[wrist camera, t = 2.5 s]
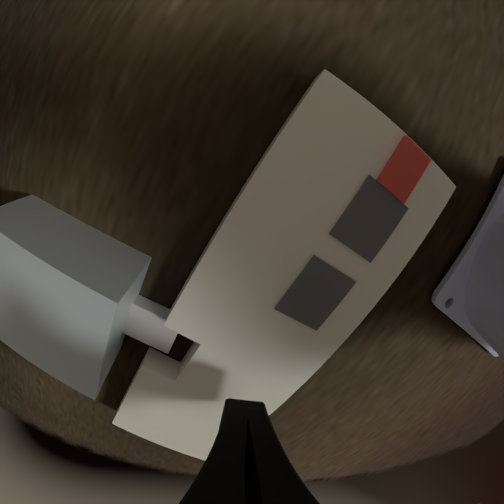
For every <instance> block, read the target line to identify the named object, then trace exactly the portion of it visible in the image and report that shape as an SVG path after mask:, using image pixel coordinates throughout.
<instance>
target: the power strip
mask: <svg viewBox="0 0 504 504" xmlns="http://www.w3.org/2000/svg"><path fill="white" fill-rule="evenodd" d="M455 188H456V186H455V185H454V183H453V182H452V181H451V180H450V179H449V178H448V177H447V175H446V174H445V173H444V172H443V171H442V170H441V169H440V168H439V167H438V165H437V164H436V163H435V162H434V161H433V160H432V159H431V158H430V157H429V156H428V155H427V154H426V153H425V152H424V151H423V150H422V149H421V148H420V147H419V146H418V145H417V144H416V143H415V142H414V141H413V140H412V139H411V138H410V137H409V136H408V135H407V134H406V133H405V132H404V131H402V130H401V129H400V128H399V127H398V126H397V125H396V124H395V123H394V122H393V121H391V120H390V119H389V118H388V117H387V116H386V115H384V114H383V113H382V112H381V111H380V110H379V109H377V108H376V107H375V106H374V105H373V104H371V103H370V102H369V101H368V100H366V99H365V98H364V97H363V96H361V95H360V94H359V93H357V92H356V91H355V90H353V89H352V88H351V87H349V86H348V85H347V84H345V83H344V82H343V81H341V80H340V79H338V78H337V77H336V76H334V75H333V74H331V73H330V72H328V71H327V70H325V69H324V70H323V71H322V72H321V73H320V74H319V75H318V76H317V77H316V78H315V79H314V80H313V82H312V83H311V85H310V86H309V88H308V89H307V90H306V92H305V93H304V95H303V96H302V98H301V99H300V101H299V102H298V104H297V105H296V106H295V108H294V109H293V111H292V112H291V114H290V115H289V117H288V118H287V120H286V121H285V123H284V124H283V126H282V127H281V129H280V130H279V132H278V133H277V135H276V136H275V138H274V139H273V141H272V142H271V144H270V145H269V147H268V148H267V150H266V151H265V153H264V154H263V156H262V158H261V159H260V161H259V162H258V164H257V165H256V167H255V168H254V170H253V172H252V173H251V175H250V176H249V178H248V179H247V181H246V183H245V184H244V186H243V187H242V189H241V191H240V192H239V194H238V195H237V197H236V199H235V200H234V202H233V203H232V205H231V207H230V208H229V210H228V211H227V213H226V215H225V216H224V218H223V220H222V221H221V223H220V225H219V226H218V228H217V230H216V231H215V233H214V235H213V236H212V238H211V240H210V241H209V243H208V245H207V246H206V248H205V250H204V251H203V253H202V255H201V256H200V258H199V260H198V261H197V263H196V265H195V267H194V268H193V270H192V272H191V274H190V275H189V277H188V279H187V280H186V282H185V284H184V286H183V287H182V289H181V291H180V293H179V294H178V296H177V298H176V300H175V302H174V303H173V305H172V307H171V309H170V311H169V314H168V316H167V318H166V321H165V323H164V326H165V327H167V328H169V329H171V330H173V331H175V332H177V333H179V334H181V335H183V336H185V337H187V338H189V339H191V340H193V341H194V342H193V344H192V345H191V347H190V348H189V350H188V351H187V353H186V354H185V356H184V357H183V359H182V360H181V362H179V361H177V360H175V359H172V358H170V357H168V356H166V355H164V354H162V353H161V352H159V351H157V350H155V349H153V348H151V347H149V349H148V351H147V353H146V355H145V356H144V358H143V360H142V362H141V364H140V366H139V368H138V370H137V372H136V374H135V376H134V377H133V379H132V381H131V383H130V385H129V387H128V389H127V391H126V393H125V395H124V397H123V399H122V401H121V403H120V405H119V407H118V409H117V412H116V414H115V417H114V420H113V422H112V424H114V425H116V426H118V427H120V428H122V429H125V430H127V431H129V432H131V433H133V434H135V435H138V436H140V437H142V438H145V439H147V440H149V441H152V442H154V443H157V444H159V445H162V446H164V447H167V448H170V449H172V450H175V451H178V452H181V453H183V454H186V455H189V456H192V457H195V458H199V459H202V460H205V461H206V459H207V457H208V455H209V453H210V450H211V448H212V446H213V444H214V441H215V439H216V436H217V434H218V431H219V425H220V421H221V417H222V412H223V408H224V404H225V400H226V399H228V398H232V399H240V400H249V401H259V402H263V403H264V404H265V406H266V410H267V413H268V415H270V414H271V413H273V412H274V411H275V410H276V409H277V408H278V407H279V406H280V405H281V404H283V403H284V402H285V401H286V400H287V399H288V398H289V397H290V396H291V395H292V394H293V393H294V392H295V391H297V390H298V389H299V388H300V387H301V386H302V385H303V384H304V383H305V382H306V381H307V380H308V379H309V378H310V377H311V376H312V375H313V374H314V373H315V372H316V371H317V370H318V369H319V368H320V367H321V366H322V365H323V364H324V363H325V362H326V361H327V360H328V358H329V357H330V356H331V355H332V354H333V353H334V352H335V351H336V350H337V349H338V348H339V347H340V346H341V344H342V343H343V342H344V341H345V340H346V339H347V338H348V337H349V336H350V334H351V333H352V332H353V331H354V330H355V329H356V328H357V326H358V325H359V324H360V323H361V322H362V321H363V319H364V318H365V317H366V316H367V315H368V313H369V312H370V311H371V310H372V309H373V307H374V306H375V305H376V304H377V302H378V301H379V300H380V299H381V297H382V296H383V295H384V294H385V292H386V291H387V290H388V289H389V287H390V286H391V285H392V283H393V282H394V281H395V279H396V278H397V277H398V275H399V274H400V273H401V271H402V270H403V269H404V267H405V266H406V265H407V263H408V262H409V260H410V259H411V258H412V256H413V255H414V253H415V252H416V250H417V249H418V247H419V246H420V245H421V243H422V242H423V240H424V239H425V237H426V236H427V234H428V233H429V231H430V230H431V228H432V226H433V225H434V223H435V222H436V220H437V219H438V217H439V215H440V214H441V212H442V210H443V209H444V207H445V206H446V204H447V202H448V201H449V199H450V197H451V195H452V194H453V192H454V190H455Z"/></svg>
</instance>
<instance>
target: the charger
mask: <svg viewBox="0 0 504 504" xmlns="http://www.w3.org/2000/svg"><path fill="white" fill-rule="evenodd" d="M151 259H152V257H150V256H148V255H146V254H144V253H142V252H140V251H138V250H136V249H134V248H132V247H130V246H128V245H126V244H124V243H122V242H120V241H118V240H116V239H114V238H112V237H110V236H108V235H106V234H104V233H103V232H101V231H99V230H97V229H95V228H93V227H91V226H89V225H87V224H85V223H84V222H82V221H80V220H78V219H76V218H74V217H72V216H71V215H69V214H67V213H65V212H63V211H61V210H60V209H58V208H56V207H54V206H52V205H51V204H49V203H47V202H45V201H44V200H42V199H40V198H38V197H36V196H35V195H33V194H32V195H29V196H26V197H23V198H20V199H18V200H15V201H12V202H10V203H7V204H4V205H2V206H0V340H1V341H2V342H4V343H5V344H6V345H7V346H9V347H10V348H11V349H13V350H14V351H15V352H17V353H18V354H20V355H21V356H22V357H24V358H25V359H27V360H28V361H30V362H31V363H32V364H34V365H35V366H37V367H38V368H40V369H42V370H43V371H45V372H46V373H48V374H49V375H51V376H53V377H54V378H56V379H58V380H59V381H61V382H63V383H64V384H66V385H68V386H69V387H71V388H73V389H75V390H77V391H78V392H80V393H82V394H84V395H86V396H88V397H90V398H92V399H93V400H95V399H96V397H97V395H98V393H99V391H100V389H101V387H102V385H103V383H104V381H105V379H106V377H107V375H108V373H109V371H110V369H111V367H112V365H113V363H114V361H115V359H116V357H117V355H118V353H119V351H120V350H121V347H122V343H123V340H124V337H125V334H126V335H128V336H130V337H133V338H135V339H137V340H139V341H141V342H143V343H145V344H147V345H149V346H152V347H154V348H156V349H158V350H161V351H163V352H165V353H167V354H168V353H169V351H170V349H171V347H172V345H173V342H174V340H175V338H176V336H177V334H178V333H177V332H175V331H173V330H171V329H169V328H167V327H165V326H164V323H165V321H166V318H167V316H168V314H169V311H170V309H168V308H166V307H164V306H162V305H160V304H158V303H155V302H153V301H151V300H149V299H147V298H145V297H143V296H141V295H139V291H140V289H141V286H142V283H143V280H144V278H145V275H146V272H147V269H148V267H149V264H150V262H151Z"/></svg>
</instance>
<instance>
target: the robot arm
mask: <svg viewBox="0 0 504 504" xmlns="http://www.w3.org/2000/svg"><path fill="white" fill-rule="evenodd" d="M431 299H432V303H433V304H434V305H435V306H436V307H437V308H438V309H439V310H441V311H442V312H443V313H444V314H446V315H447V316H448V317H449V318H450V319H452V320H453V321H454V322H455V323H456V324H458V325H459V326H460V327H461V328H462V329H464V330H465V331H466V332H467V333H468V334H469V335H471V336H472V337H473V338H474V339H475V340H476V341H477V342H479V343H480V344H481V345H482V346H483V347H484V348H485V349H487V350H488V351H489V352H490V353H491V354H492V355H493V356H494V357H497V356H500V357H501V358H502V359H503V360H504V175H503V177H502V179H501V181H500V183H499V185H498V187H497V189H496V191H495V194H494V195H493V197H492V199H491V201H490V203H489V205H488V207H487V209H486V211H485V213H484V214H483V216H482V218H481V220H480V222H479V223H478V225H477V227H476V229H475V230H474V232H473V234H472V235H471V237H470V239H469V240H468V242H467V243H466V245H465V247H464V248H463V250H462V251H461V253H460V255H459V256H458V258H457V259H456V261H455V262H454V264H453V265H452V267H451V268H450V269H449V271H448V272H447V274H446V275H445V277H444V278H443V279H442V281H441V282H440V284H439V285H438V286H437V288H436V289H435V290H434V292H433V294H432V298H431ZM447 300H448V301H447ZM446 301H447V302H446ZM179 504H320V503H319V502H318V501H317V500H316V499H315V497H314V496H313V495H312V494H311V492H310V491H309V490H308V488H307V487H306V486H305V484H304V483H303V482H302V480H301V479H300V477H299V476H298V474H297V473H296V471H295V469H294V468H293V466H292V464H291V463H290V461H289V459H288V457H287V455H286V454H285V452H284V450H283V448H282V446H281V444H280V442H279V440H278V437H277V435H276V433H275V431H274V428H273V426H272V423H271V421H270V418H269V415H268V413H267V410H266V406H265V404H264V403H263V402H259V401H249V400H240V399H232V398H228V399H226V400H225V404H224V408H223V412H222V417H221V421H220V425H219V431H218V434H217V436H216V439H215V441H214V444H213V446H212V448H211V450H210V453H209V455H208V457H207V459H206V461H205V463H204V465H203V467H202V468H201V470H200V472H199V474H198V475H197V477H196V479H195V480H194V482H193V484H192V485H191V487H190V488H189V490H188V491H187V493H186V494H185V496H184V497H183V499H182V500H181V501H180V503H179Z"/></svg>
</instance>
